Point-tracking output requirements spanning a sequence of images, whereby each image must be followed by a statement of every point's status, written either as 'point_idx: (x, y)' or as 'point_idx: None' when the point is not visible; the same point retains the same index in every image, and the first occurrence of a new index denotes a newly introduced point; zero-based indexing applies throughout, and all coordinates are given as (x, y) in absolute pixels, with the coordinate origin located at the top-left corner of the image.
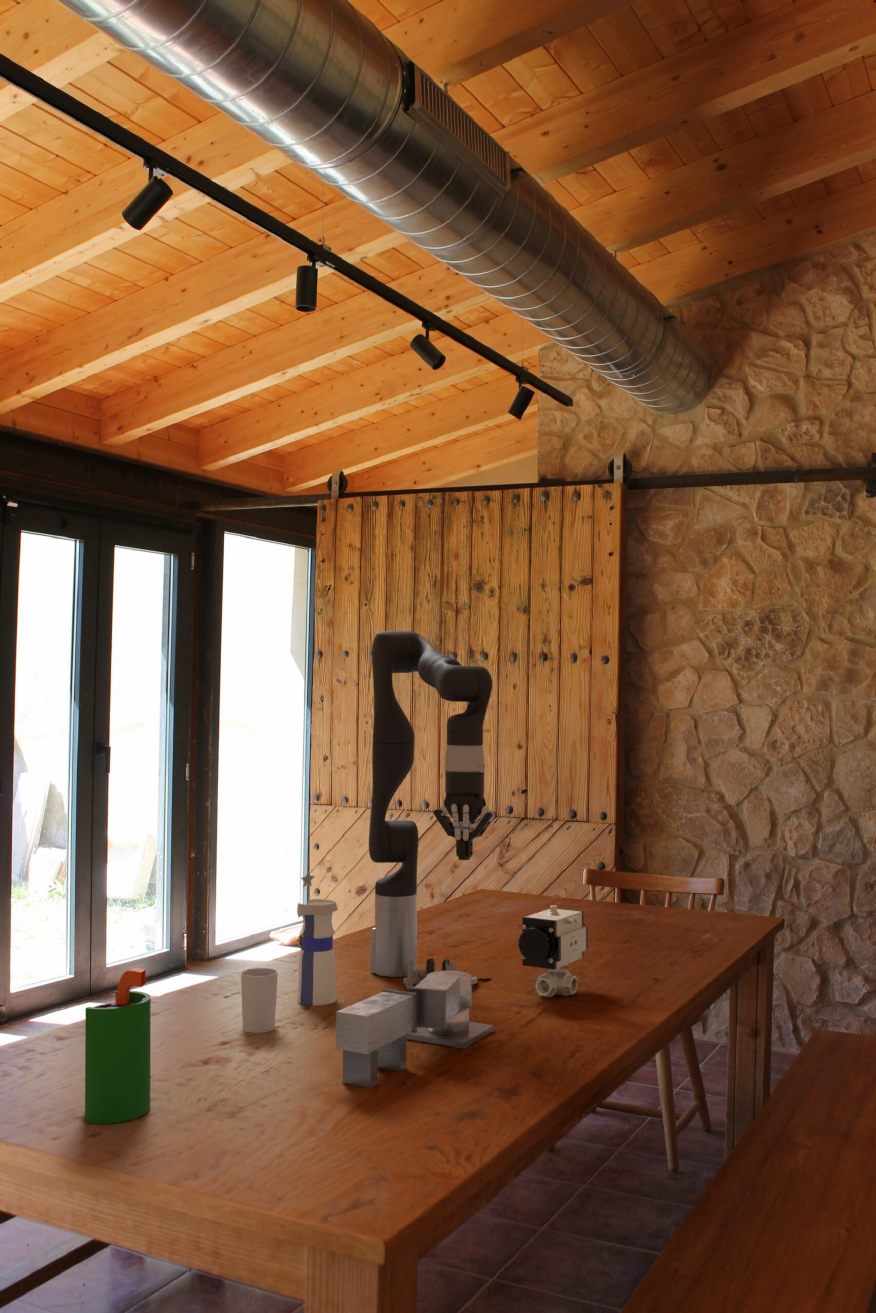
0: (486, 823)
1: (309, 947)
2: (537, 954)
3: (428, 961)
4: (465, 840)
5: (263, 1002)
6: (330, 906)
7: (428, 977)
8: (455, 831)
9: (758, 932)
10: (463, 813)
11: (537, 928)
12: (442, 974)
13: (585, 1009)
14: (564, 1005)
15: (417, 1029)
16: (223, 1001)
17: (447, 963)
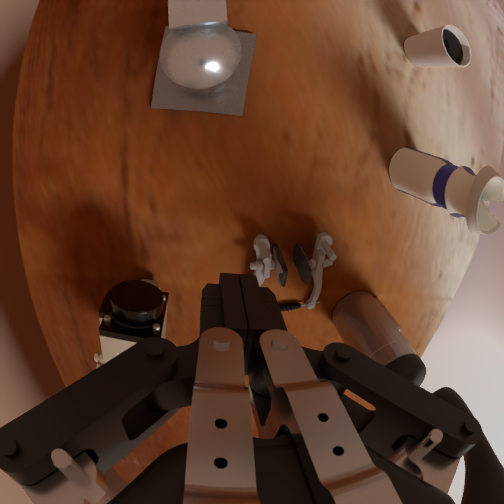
0: (46, 407)
1: (454, 165)
2: (131, 285)
3: (309, 269)
4: (221, 327)
5: (426, 31)
6: (478, 191)
7: (220, 2)
8: (305, 366)
9: (114, 467)
10: (254, 492)
11: (125, 314)
12: (214, 55)
13: (89, 251)
14: (116, 258)
15: (243, 52)
16: (471, 143)
17: (280, 273)
